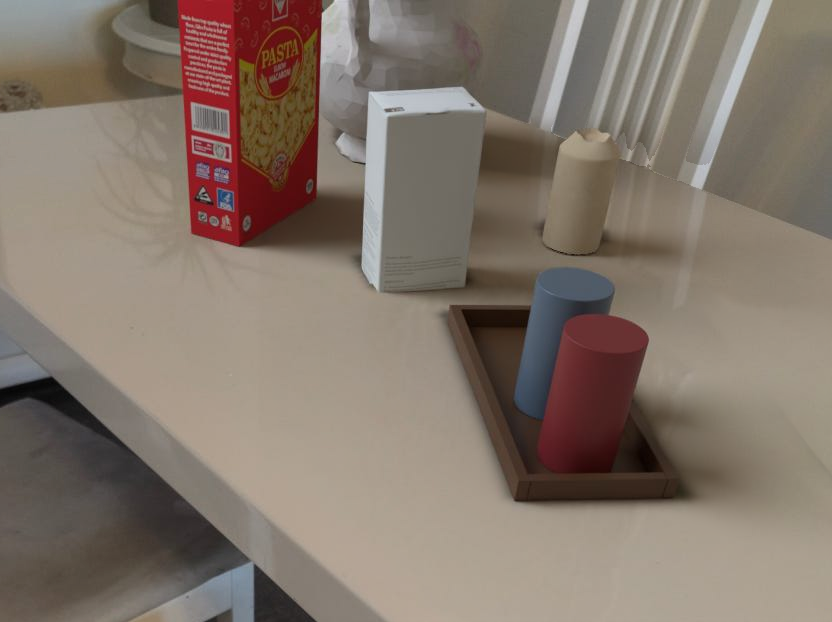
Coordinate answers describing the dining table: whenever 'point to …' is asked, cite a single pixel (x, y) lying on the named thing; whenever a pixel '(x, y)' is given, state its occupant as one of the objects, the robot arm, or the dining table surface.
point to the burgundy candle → (591, 393)
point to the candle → (581, 192)
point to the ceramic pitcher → (390, 58)
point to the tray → (519, 433)
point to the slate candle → (555, 328)
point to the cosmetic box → (420, 187)
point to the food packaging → (249, 112)
